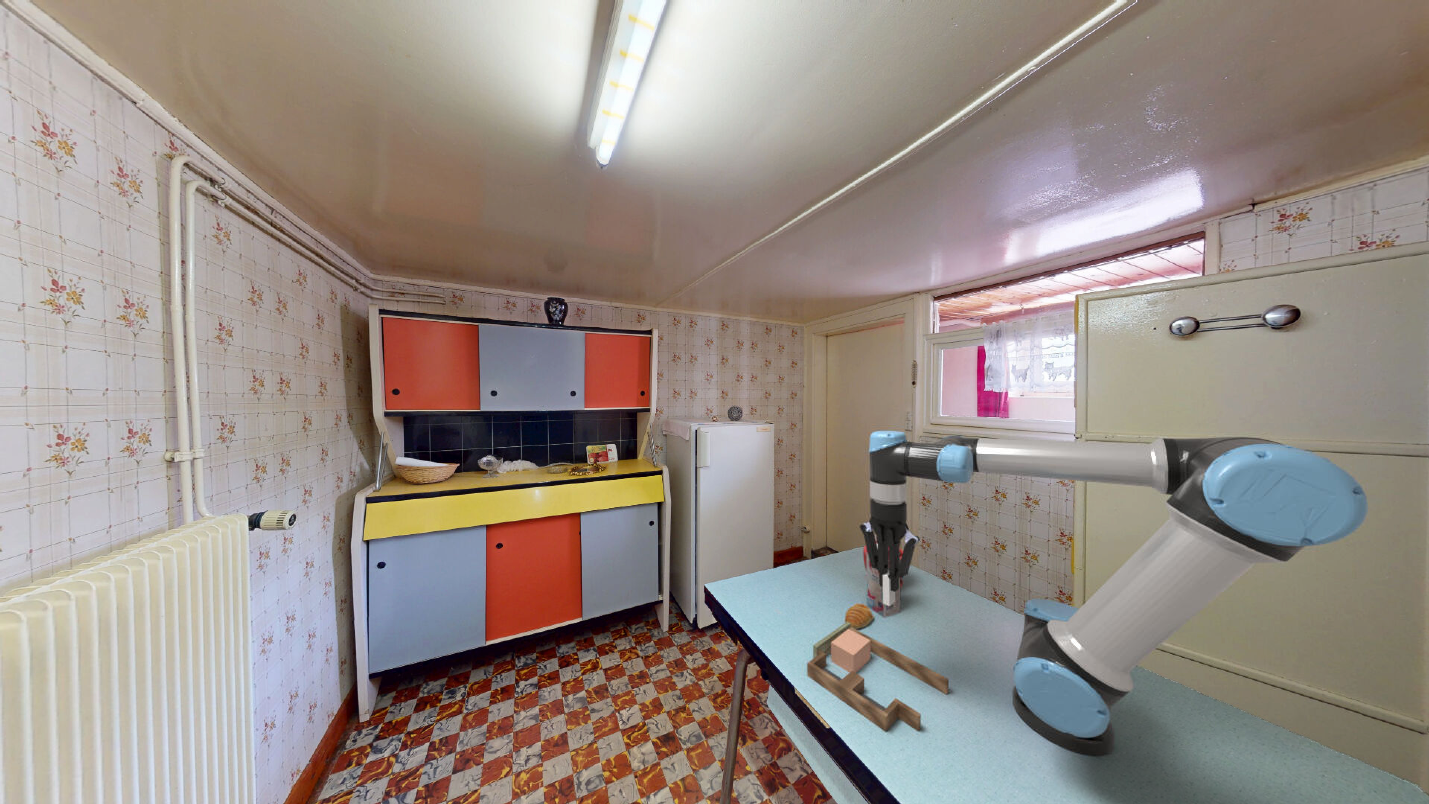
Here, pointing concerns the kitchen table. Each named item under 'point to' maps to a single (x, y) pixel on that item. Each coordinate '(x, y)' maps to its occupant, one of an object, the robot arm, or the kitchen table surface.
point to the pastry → (859, 616)
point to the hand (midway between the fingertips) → (889, 602)
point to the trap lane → (854, 683)
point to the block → (850, 651)
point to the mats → (860, 694)
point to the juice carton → (879, 592)
